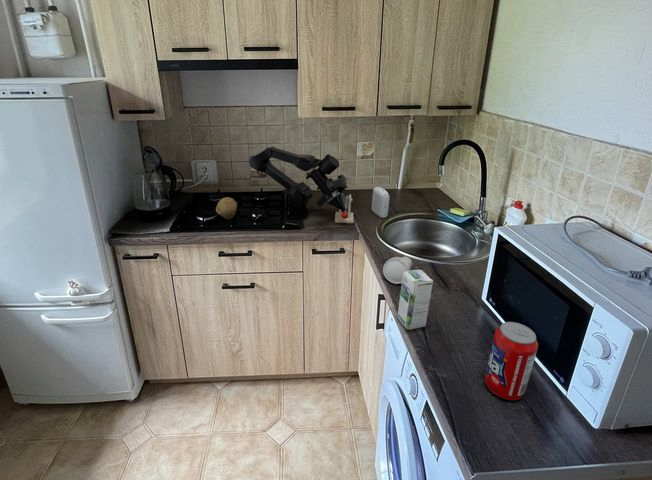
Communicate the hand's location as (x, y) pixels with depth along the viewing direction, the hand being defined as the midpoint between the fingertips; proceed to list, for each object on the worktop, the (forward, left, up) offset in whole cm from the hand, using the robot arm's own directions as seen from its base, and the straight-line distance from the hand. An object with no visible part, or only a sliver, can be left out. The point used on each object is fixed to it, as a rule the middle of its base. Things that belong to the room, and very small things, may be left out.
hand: (344, 210), depth 159 cm
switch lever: (0, +5, -2) cm, 5 cm away
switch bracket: (0, +8, -7) cm, 11 cm away
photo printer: (+16, +16, -7) cm, 24 cm away
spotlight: (+18, -38, -7) cm, 43 cm away
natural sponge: (-51, +1, -7) cm, 52 cm away
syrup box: (+19, -61, -7) cm, 64 cm away
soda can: (+35, -82, -7) cm, 89 cm away
